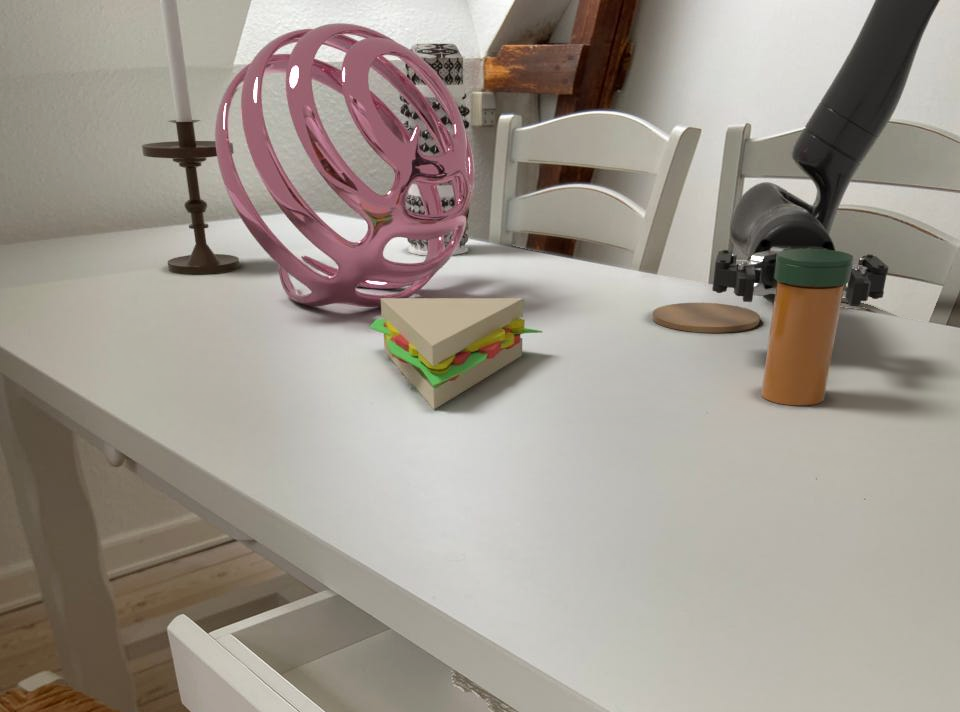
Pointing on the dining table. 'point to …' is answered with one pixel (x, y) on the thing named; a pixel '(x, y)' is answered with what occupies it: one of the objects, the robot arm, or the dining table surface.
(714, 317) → the coaster
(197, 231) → the candlestick
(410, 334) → the sandwich
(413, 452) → the dining table surface
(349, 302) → the spiral basket
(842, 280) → the lid
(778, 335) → the jar
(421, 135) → the decorative candle
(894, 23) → the robot arm
